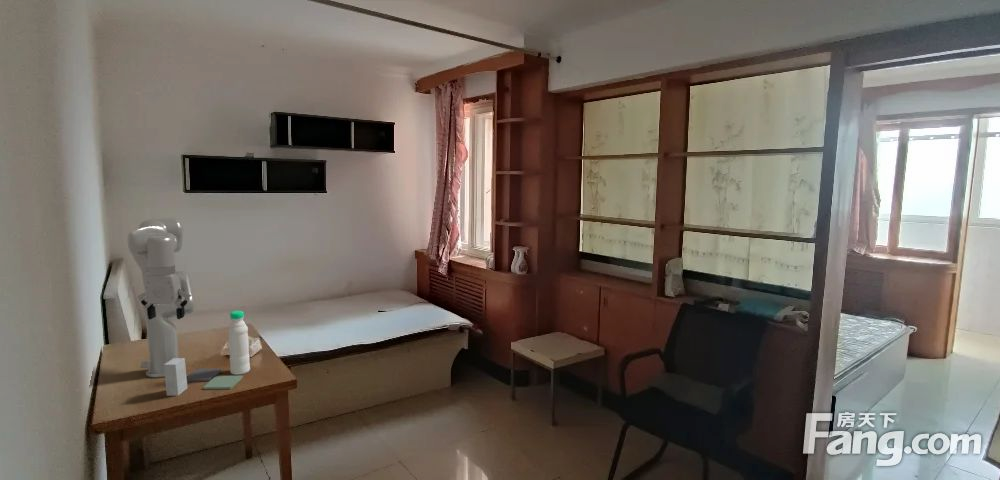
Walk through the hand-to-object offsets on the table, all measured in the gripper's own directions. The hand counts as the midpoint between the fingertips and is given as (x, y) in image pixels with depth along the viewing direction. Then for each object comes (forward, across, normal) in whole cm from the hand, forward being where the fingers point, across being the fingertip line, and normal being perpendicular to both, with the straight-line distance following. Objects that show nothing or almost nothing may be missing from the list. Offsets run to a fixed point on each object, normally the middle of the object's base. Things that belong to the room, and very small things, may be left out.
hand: (166, 318), depth 171 cm
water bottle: (+28, +16, +19) cm, 37 cm away
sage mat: (+28, +14, +8) cm, 33 cm away
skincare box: (+29, +1, +1) cm, 29 cm away
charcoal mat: (+28, +3, +15) cm, 32 cm away
